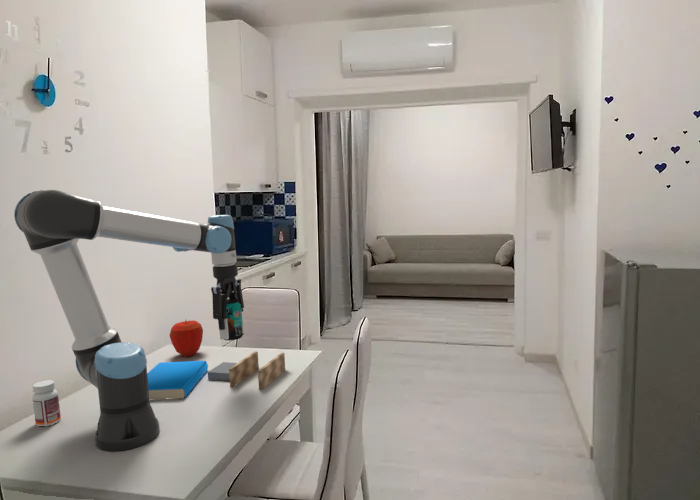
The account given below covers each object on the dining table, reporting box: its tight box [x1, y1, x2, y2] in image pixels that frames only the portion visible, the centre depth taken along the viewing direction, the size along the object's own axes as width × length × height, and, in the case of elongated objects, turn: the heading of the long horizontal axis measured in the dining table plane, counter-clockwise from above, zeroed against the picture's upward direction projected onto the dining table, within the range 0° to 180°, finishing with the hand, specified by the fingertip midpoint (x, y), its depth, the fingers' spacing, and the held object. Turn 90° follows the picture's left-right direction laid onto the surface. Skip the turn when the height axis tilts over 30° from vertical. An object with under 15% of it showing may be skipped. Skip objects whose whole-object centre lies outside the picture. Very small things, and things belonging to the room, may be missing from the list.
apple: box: [169, 320, 204, 357], centre depth 202 cm, size 12×12×14 cm
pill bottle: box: [32, 379, 62, 427], centre depth 147 cm, size 6×6×11 cm
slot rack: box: [229, 350, 286, 390], centre depth 174 cm, size 18×11×6 cm, turn 163°
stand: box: [207, 361, 238, 381], centre depth 179 cm, size 10×10×2 cm
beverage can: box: [223, 298, 244, 341], centre depth 168 cm, size 7×7×12 cm
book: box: [147, 360, 209, 400], centre depth 172 cm, size 17×4×25 cm
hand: (231, 335), depth 169 cm, fingers closed on beverage can, 7 cm apart
